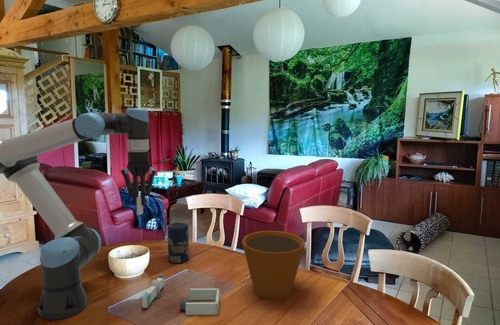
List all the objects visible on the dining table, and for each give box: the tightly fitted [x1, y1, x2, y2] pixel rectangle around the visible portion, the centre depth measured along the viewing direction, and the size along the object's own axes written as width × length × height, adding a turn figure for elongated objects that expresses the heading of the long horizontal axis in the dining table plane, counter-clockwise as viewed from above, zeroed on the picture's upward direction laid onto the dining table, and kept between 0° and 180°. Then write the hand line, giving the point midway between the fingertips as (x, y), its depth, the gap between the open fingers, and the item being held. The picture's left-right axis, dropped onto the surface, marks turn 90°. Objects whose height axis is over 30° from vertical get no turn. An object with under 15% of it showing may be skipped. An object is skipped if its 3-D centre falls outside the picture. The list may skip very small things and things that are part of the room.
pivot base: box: [153, 291, 163, 300], centre depth 133 cm, size 4×4×1 cm
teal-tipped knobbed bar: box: [141, 272, 165, 309], centre depth 131 cm, size 3×17×5 cm, turn 173°
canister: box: [167, 222, 190, 264], centre depth 164 cm, size 10×10×18 cm
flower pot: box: [241, 230, 306, 300], centre depth 137 cm, size 24×24×20 cm
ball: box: [179, 297, 192, 311], centre depth 123 cm, size 4×4×4 cm
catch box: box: [185, 288, 221, 316], centre depth 125 cm, size 11×11×4 cm
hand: (140, 213), depth 132 cm, fingers closed
